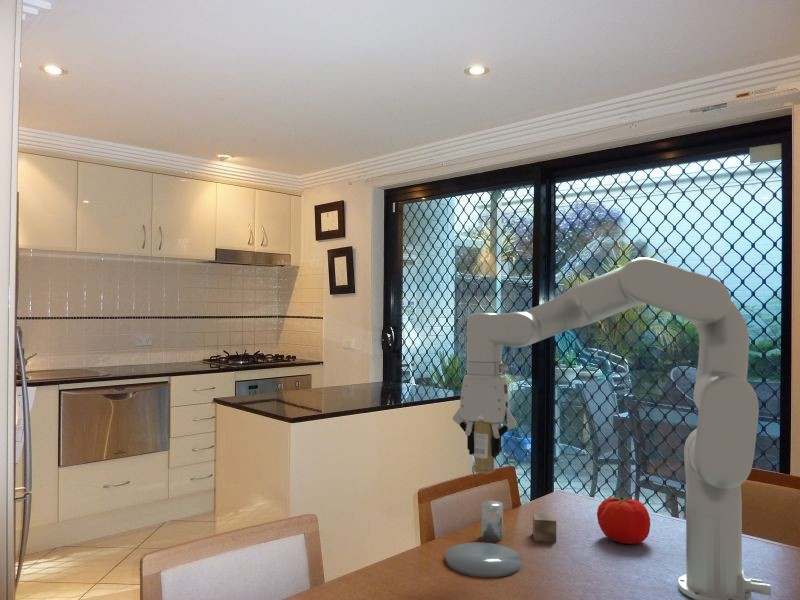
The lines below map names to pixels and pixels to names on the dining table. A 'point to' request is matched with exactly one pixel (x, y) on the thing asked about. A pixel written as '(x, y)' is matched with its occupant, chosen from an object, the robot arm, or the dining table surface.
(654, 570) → the dining table surface
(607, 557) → the dining table surface
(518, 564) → the grey plate
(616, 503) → the tomato
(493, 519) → the metal tin
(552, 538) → the walnut block
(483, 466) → the sprinkles bottle
